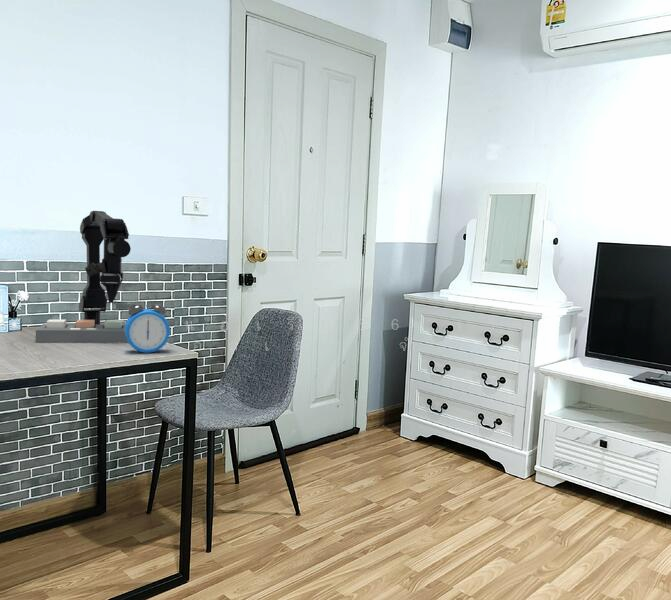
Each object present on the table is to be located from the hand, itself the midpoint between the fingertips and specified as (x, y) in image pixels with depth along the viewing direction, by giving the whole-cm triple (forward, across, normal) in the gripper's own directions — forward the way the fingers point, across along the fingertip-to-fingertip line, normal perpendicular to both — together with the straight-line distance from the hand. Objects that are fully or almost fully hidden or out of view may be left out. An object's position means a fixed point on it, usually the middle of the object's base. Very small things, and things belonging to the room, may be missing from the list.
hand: (111, 301), depth 211 cm
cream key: (+10, 0, -17) cm, 20 cm away
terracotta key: (+10, 0, -8) cm, 13 cm away
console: (+13, +1, -8) cm, 15 cm away
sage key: (+10, 0, +1) cm, 10 cm away
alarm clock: (+13, +24, +12) cm, 30 cm away
